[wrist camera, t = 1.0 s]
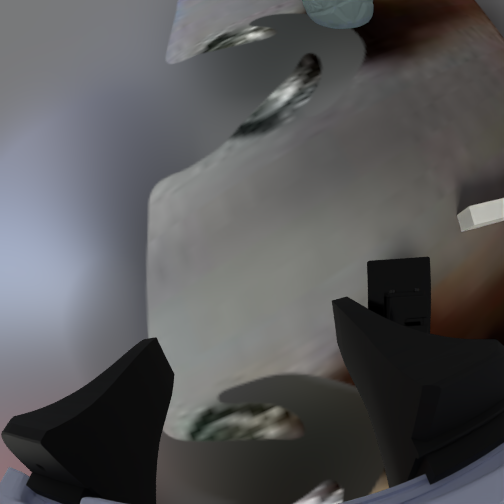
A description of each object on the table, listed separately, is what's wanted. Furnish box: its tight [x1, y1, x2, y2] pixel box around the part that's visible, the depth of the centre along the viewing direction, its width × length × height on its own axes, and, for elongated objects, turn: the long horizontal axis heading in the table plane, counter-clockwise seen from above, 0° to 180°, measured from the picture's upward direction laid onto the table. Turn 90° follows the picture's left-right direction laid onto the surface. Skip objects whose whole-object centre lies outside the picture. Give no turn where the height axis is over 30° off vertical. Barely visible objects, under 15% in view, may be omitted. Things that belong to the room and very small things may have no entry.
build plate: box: [356, 257, 431, 388], centre depth 20 cm, size 12×7×5 cm, turn 0°
